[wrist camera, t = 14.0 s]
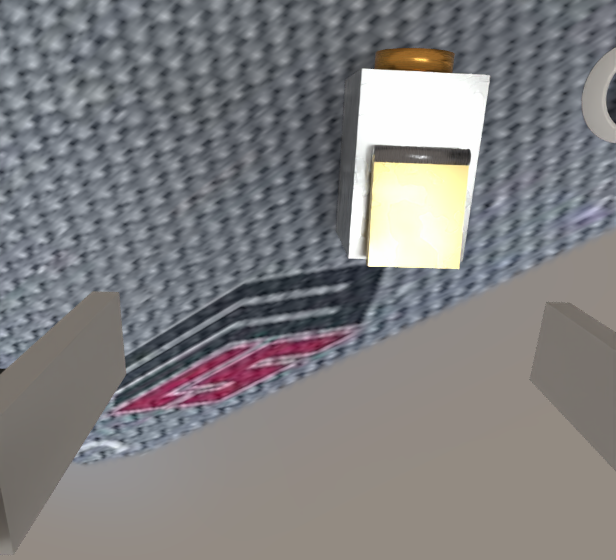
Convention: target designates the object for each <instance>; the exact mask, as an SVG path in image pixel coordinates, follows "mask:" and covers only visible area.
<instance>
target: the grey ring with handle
mask: <svg viewBox="0 0 616 560" xmlns="http://www.w3.org/2000/svg"><path fill="white" fill-rule="evenodd" d="M615 73H616V48H614V49H612V50H611V51H609V52H608V53H606V54H605V55H604V56H603V57H602V58H601V59H600V60H599V61H598V62H597V63H596V65H595V66H594V68H593V69H592V70H591V72H590V74H589V76H588V78H587V80H586V83H585V86H584V89H583V94H582V112H583V116H584V119H585V121H586V124H587V126H588V127H589V129H590V130H591V131H592V132H593V133H594V134H595V135H596V136H598V137H599V138H601V139H603V140H605V141H607V142H612V143H616V124H615V123H614V122H613V121H612V119H611V118H610V116H609V114H608V111H607V106H606V95H607V89H608V86H609V84H610V81H611V79H612V77H613V76H614V74H615Z"/></svg>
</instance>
